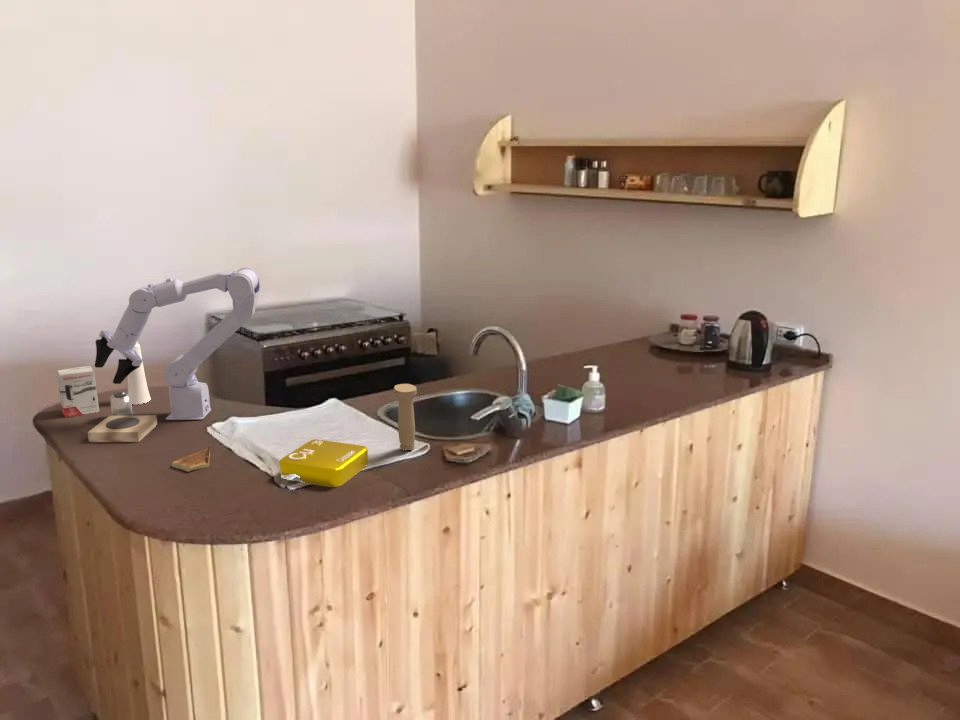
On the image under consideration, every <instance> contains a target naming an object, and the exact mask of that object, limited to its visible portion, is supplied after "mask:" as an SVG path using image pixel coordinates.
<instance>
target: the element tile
mask: <svg viewBox="0 0 960 720" xmlns="http://www.w3.org/2000/svg"><path fill="white" fill-rule="evenodd" d="M278 464H279V465H278V466H279V475H280V474H282V475H289V474H296V475H298V476H300V480H302V481H303V482H305V483H304V484H307V485H315V486H321V487H325V488H326V487H328V488H338V487H341V486H342V485H344V484H346V483H347V482H349V480H351V479H352V478H354V477H355V476H356V475H357V474H358V473H360V472H361V471H362V470H364V469H365V468H366V467H367V466H368V465H369V451H368V447H367V446H365V445H361V444H360V445H359V444H352V443H344V442H337V441H331V440H323V439H311V440H310V441H307V442H305V443H304V444H302V445H301V446H299V447H298V448H296V449H295V450H293V451H291V452H290V453H288V454H286V455H285V456H283V457H282V458H281V459H279V460H278ZM367 464H368V465H367ZM366 465H367V466H366Z"/></svg>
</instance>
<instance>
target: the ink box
mask: <svg viewBox="0 0 960 720" xmlns="http://www.w3.org/2000/svg"><path fill="white" fill-rule="evenodd" d="M56 378H57V383H58V384H57V385H58V391H59V393H58V394H59V399H60V400H59V401H60V408H61V413H62V415H63V417H64V418H72V417H77V416H84V415H88V414H89V413H90V414H95V412H96V413H99V412H100V408H99V406H100V405H99V399H98V393H97V392H98V391H97V386H96V385H97V384H96V376H95V370H94V368H93V367H92V366H90V365H85V366H78V367H72V368H63V369H59V370H57V371H56ZM83 414H84V415H83ZM90 414H89V415H90Z"/></svg>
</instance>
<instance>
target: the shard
mask: <svg viewBox="0 0 960 720" xmlns="http://www.w3.org/2000/svg"><path fill="white" fill-rule="evenodd" d="M210 450H211V447H210V446H208V447H207V448H205V449H202V450H200V451H197V452H194V453H190V454H187V455H186V456H183V457H180V458H178V459H176V460H174V461H173V462H172V463H171V467H173V468H174V469H175V468H176V469H179V470H182V471H185V472H188V473H189V472H191V471H192V472H193V471H196V470H200V469H207V468H209V467H210V457H211V452H210Z"/></svg>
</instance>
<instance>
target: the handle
mask: <svg viewBox="0 0 960 720" xmlns="http://www.w3.org/2000/svg"><path fill="white" fill-rule="evenodd" d="M393 393H394V396H395V397H397V398H398V413H397V414H398V417H397V428H398V430H397V431H398V440H399V449H400V448H401V449H404V450H412V451H413V449H414V447H415V438H416V424H415V422H416V421H415V411H414V409H415V408H414V397H415V396H417V393H418V392H417V386H416V385H414V384H411V383H399V384H396V385H394V387H393ZM401 449H400V450H401ZM404 450H403V451H404Z"/></svg>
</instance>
